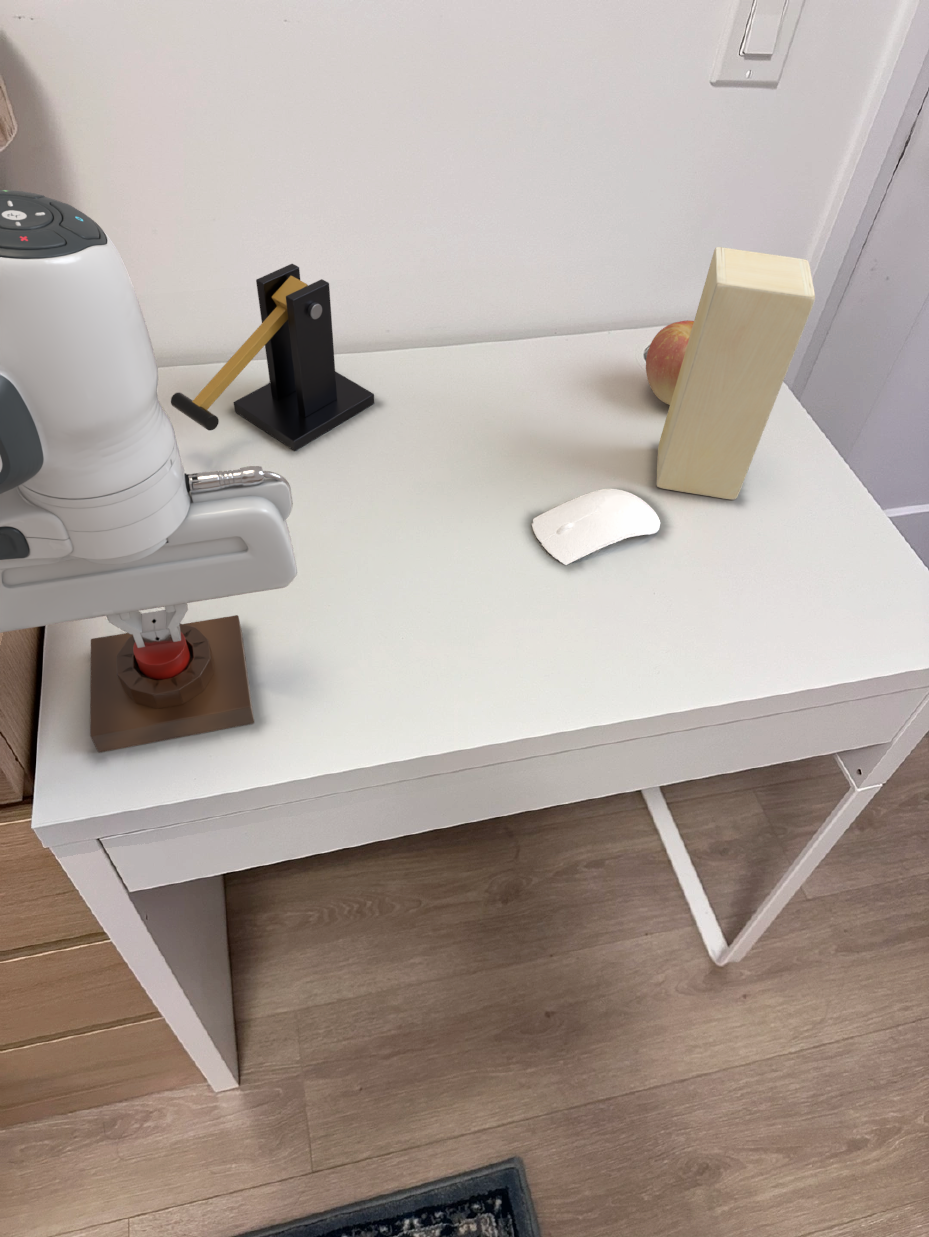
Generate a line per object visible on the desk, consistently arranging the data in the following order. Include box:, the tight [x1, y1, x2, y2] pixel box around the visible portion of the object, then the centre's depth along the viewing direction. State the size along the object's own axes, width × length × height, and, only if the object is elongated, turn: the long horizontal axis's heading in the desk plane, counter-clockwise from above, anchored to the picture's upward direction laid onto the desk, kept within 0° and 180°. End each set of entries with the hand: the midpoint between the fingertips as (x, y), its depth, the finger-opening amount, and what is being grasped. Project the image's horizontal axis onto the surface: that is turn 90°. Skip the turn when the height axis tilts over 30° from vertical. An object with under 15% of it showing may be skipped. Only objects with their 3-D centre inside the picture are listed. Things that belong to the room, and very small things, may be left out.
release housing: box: [89, 614, 255, 753], centre depth 65 cm, size 11×9×4 cm
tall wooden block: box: [656, 246, 816, 500], centre depth 78 cm, size 8×7×21 cm
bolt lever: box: [170, 276, 309, 432], centre depth 80 cm, size 16×5×2 cm, turn 140°
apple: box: [645, 320, 694, 406], centre depth 92 cm, size 9×9×8 cm
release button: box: [133, 632, 190, 680], centre depth 63 cm, size 4×4×2 cm
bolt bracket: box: [233, 263, 375, 452], centre depth 85 cm, size 11×9×14 cm
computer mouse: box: [531, 488, 661, 566], centre depth 79 cm, size 7×12×2 cm, turn 115°
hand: (159, 637), depth 61 cm, fingers closed
